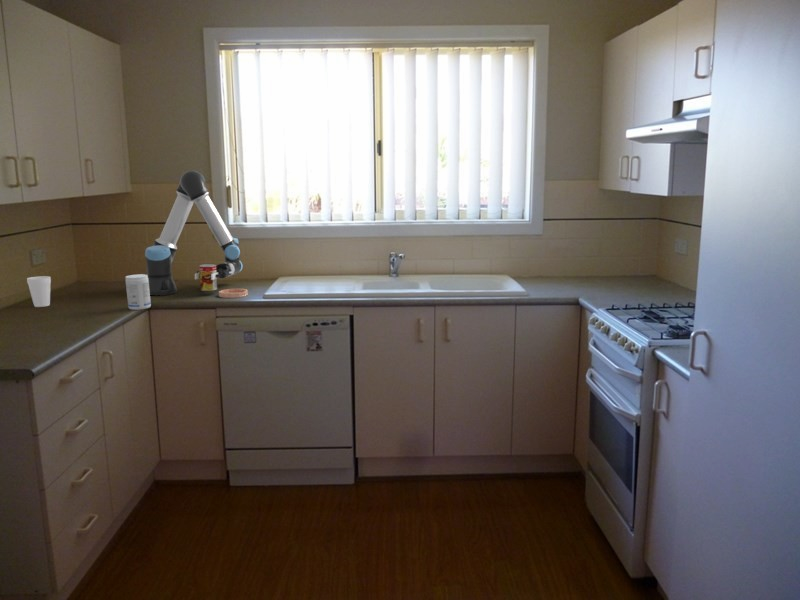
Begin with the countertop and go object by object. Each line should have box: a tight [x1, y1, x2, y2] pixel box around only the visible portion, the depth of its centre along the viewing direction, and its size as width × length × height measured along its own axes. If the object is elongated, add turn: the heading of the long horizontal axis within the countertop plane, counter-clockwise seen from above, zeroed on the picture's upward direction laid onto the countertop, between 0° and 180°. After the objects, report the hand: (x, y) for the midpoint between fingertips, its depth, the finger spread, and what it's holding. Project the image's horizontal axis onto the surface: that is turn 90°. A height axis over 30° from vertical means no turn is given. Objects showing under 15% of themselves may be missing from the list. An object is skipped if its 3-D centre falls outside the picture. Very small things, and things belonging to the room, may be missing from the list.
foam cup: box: [26, 275, 52, 308], centre depth 301 cm, size 10×9×13 cm
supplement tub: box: [124, 273, 152, 311], centre depth 293 cm, size 10×10×15 cm
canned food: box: [199, 263, 218, 292], centre depth 323 cm, size 8×8×12 cm
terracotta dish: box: [218, 288, 249, 299], centre depth 322 cm, size 14×14×2 cm
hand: (203, 276), depth 318 cm, fingers closed on canned food, 8 cm apart
